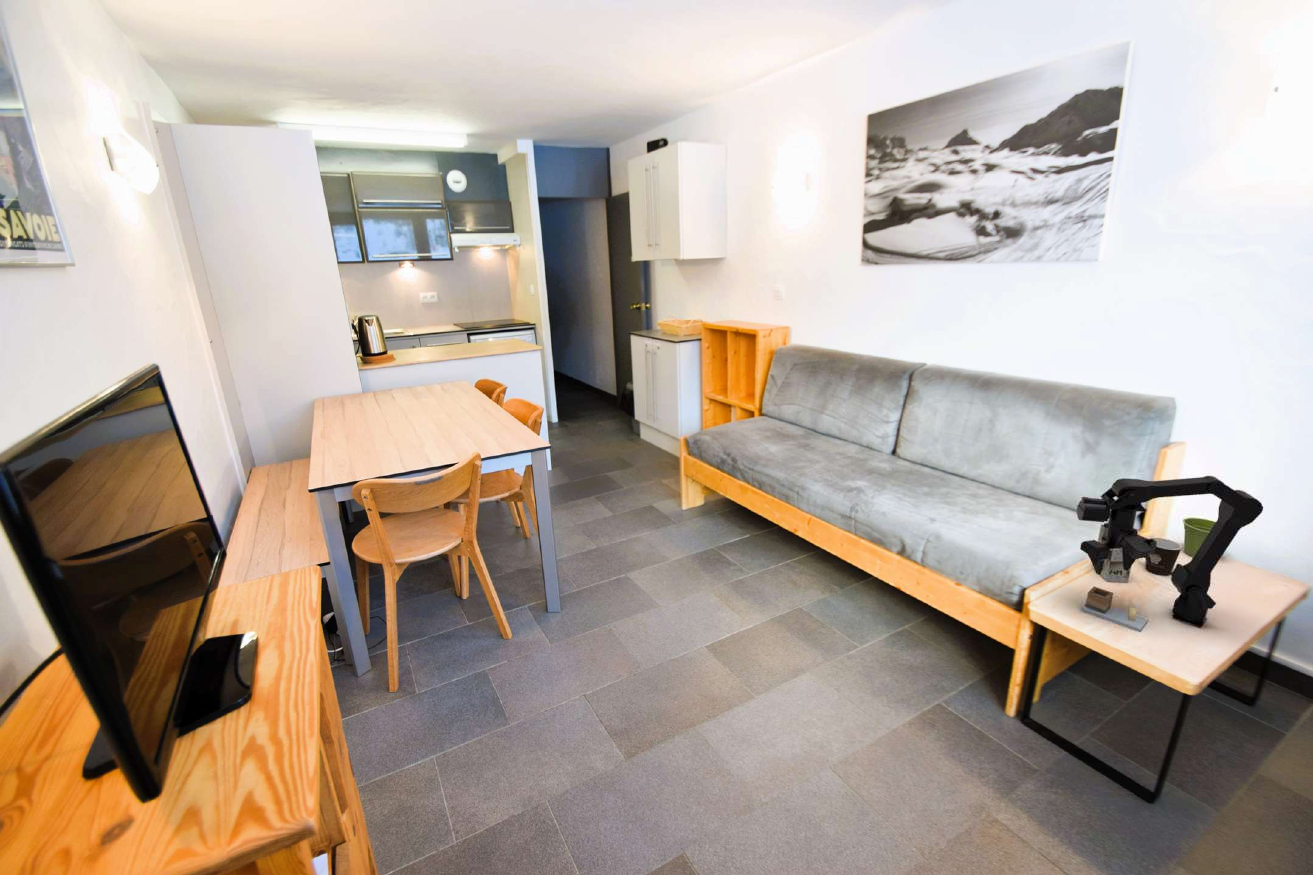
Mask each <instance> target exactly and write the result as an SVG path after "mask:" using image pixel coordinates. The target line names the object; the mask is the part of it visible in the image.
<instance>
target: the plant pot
mask: <svg viewBox="0 0 1313 875" xmlns="http://www.w3.org/2000/svg"><path fill="white" fill-rule="evenodd" d="M1182 523H1183V528H1184V541H1183V543H1184V544H1183V552H1184V553H1185V554H1186V555H1190V557H1192V558H1193V557H1194V555H1195V554H1196V552H1197V551H1198V549H1199V548H1200V546H1201V545H1202V543H1203V541H1204V540H1205V538H1206V537H1207V535H1208V534H1209V532H1210V531H1211V529H1212V528H1213V526H1214V524H1215V523H1216V521H1214V520H1211V519H1207V518H1200V517H1186V518H1183V519H1182Z"/></svg>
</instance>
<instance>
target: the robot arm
mask: <svg viewBox="0 0 1313 875" xmlns="http://www.w3.org/2000/svg"><path fill="white" fill-rule="evenodd" d="M1199 495H1201V496H1202V495H1213V496H1214V497H1217V498H1218V499H1219V500H1220V502H1219V504H1218V511H1217V512H1218V515H1217V520H1216V521H1215V522H1216V523H1215V524H1214V526H1213V528H1212V529H1211V531H1210V532H1209V534H1208V535H1207V537H1206V538H1205V540H1204V541H1203V543H1202V545H1201V546H1200V548H1199V549H1198V551H1197V552H1196V554H1195V555H1194V557H1192V558H1191V560H1190V561H1189V562H1188V563H1185V564H1181V563H1177V564H1176V565H1175V566H1174V567H1175V568H1174V569H1173V570H1172V572H1171V573H1170V575H1169V576H1171V577H1170V582H1171V583H1172V585H1173V586H1174V587H1175V588H1176V590H1177V592H1178V593H1179V595H1178V597H1176V599H1175V600H1174V602H1173V605H1172V610H1171V613H1172V616H1171V618H1172V619H1174V620H1177V621H1181V622H1183V623H1186V624H1189V625H1192V626H1196V627H1198V628H1203V627H1204V625H1205V623H1206V622H1207V621H1208V617H1207V616H1208V612H1209V610H1212V609H1213V608H1214V607H1215V606H1216V605H1217V602H1216V601H1215V600H1214V599H1213V598H1212V597H1211V596H1210V594H1208V592H1209V589H1210V587H1211V579H1212V577H1211V576H1212V572H1213V570H1214V568H1215V567H1216V566H1217V564H1218V563H1219V561H1220V560H1221V558H1222V556H1223V555H1224V553H1225V552H1226V551H1227V549H1228V547H1229V546H1230V545H1231V543H1232V542H1233V541H1234V539H1235V537H1236V536H1237V534H1239V533H1238V532H1239V531H1240V530H1241V529H1243V528H1244V527H1246V526H1248V525H1250V524H1252V523H1253V522H1255V520H1257V518H1258V517H1259V516H1260V515H1261V514H1262V513H1263V511H1264V506H1263V504H1262V502H1260V500H1258V499H1257V498H1256V497H1253V496H1252V495H1251V494H1250V493H1248V492H1246V491H1245V490H1241V489H1233V488H1232V487H1230V486H1229V485H1227V484H1225V483H1224V482H1223V481H1221V480H1220V479H1219V478H1217V477H1216V476H1213V475H1206V476H1201V477H1190V478H1189V477H1187V478H1178V479H1177V478H1176V479H1175V478H1174V479H1164V480H1162V479H1161V480H1145V479H1141V478H1127V477H1126V478H1125V477H1124V478H1118V479H1116V480H1115V481H1114V483H1112V485H1111V487H1110V488H1108V489H1107V490H1106V491H1105V492H1104V493H1102V494H1101V495H1100V498H1096V497H1095V498H1094V497H1092V498H1091V497H1087V496H1082V497H1081V500H1080V501H1078V504H1077V506H1076V516H1077V519H1078V521H1082V522H1083V521H1084V522H1095V523H1104V524H1103V525H1104V527H1106V528H1107V532H1106V536H1102V538H1101V539H1102V540H1104V541H1105V543H1104V544H1102V543H1100V542H1098V540H1096V539H1090V540H1084V541H1082V542H1081V543H1080V547H1079V549H1080V551H1082V552H1084V553H1085V554H1086V555H1088V556H1087V557H1088V558H1089V559H1090V563H1091V565H1092V568H1093V567H1094V569H1093V570H1094V572H1095V574H1097V575H1098V576H1101V575H1100V574H1101V572H1102V568H1103V565H1104V561H1105V560H1107V559H1109V557H1107V556H1108V555H1109V554H1110V550H1116V549H1122V558H1123V569H1124V570H1126V571H1128V570H1129V569H1130V567H1131V568H1132V566H1133V564H1134V563H1135V561H1136V560H1140V559H1143V558H1144V559H1145V558H1147V557H1148V555H1149V554H1150V553H1154V552H1155V549H1156V545H1157V542H1156V541H1155V540H1154V539H1148V538H1147V537H1145V536H1143V535H1140V534H1138V533H1139V531H1138V529H1137V528H1135V523H1136V517H1137V512H1139V513H1140V512H1143V513H1146V512H1147V511H1148V510H1147V509H1146V508H1145V507H1144V506H1143V505H1142V504H1143V503H1148V502H1149V501H1152V500H1154V499H1160V498H1169V497H1170V498H1171V497H1185V496H1199ZM1115 498H1116V499H1115Z"/></svg>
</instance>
